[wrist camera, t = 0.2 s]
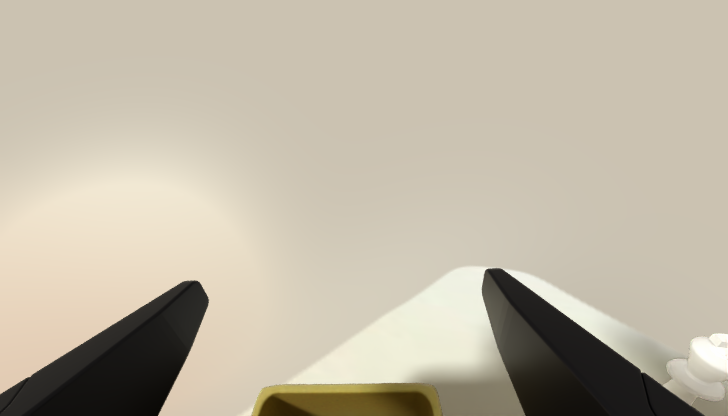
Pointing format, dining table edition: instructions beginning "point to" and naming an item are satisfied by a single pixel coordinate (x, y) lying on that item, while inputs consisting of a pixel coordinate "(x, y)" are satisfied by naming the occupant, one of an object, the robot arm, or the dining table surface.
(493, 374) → the dining table surface
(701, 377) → the chess piece
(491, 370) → the dining table surface
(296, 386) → the flower pot
